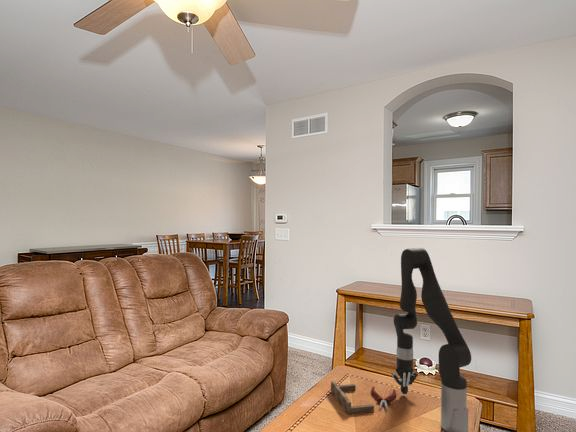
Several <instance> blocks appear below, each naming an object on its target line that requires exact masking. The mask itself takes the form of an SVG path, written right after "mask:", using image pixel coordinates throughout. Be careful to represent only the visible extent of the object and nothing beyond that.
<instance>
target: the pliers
mask: <svg viewBox="0 0 576 432" xmlns="http://www.w3.org/2000/svg"><path fill="white" fill-rule="evenodd" d="M370 391H371V392H370V393H371V395H372V396H373V397H374V398H375V399H376V403H377V404H379V411H381V410H382V409H383V406H384V408H385V411H386V412H388V405H389V406H390V405H391V402H392V401H393V400H395V399H396V397H397V391H396V389H395V388H393V389H392V393H390V394H389V395H388V396H386V397H385V398H383V397H382V396H381V395H380V394H378V393H377V392H376V391H375V386H372V387H371V390H370Z"/></svg>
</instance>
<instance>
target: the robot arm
mask: <svg viewBox="0 0 576 432" xmlns="http://www.w3.org/2000/svg"><path fill="white" fill-rule="evenodd" d="M400 256H401V257H400V274H401V275H400V276H401V290H400V297H399V298H400V299H399V309H401V311H403V312H406V313H397V314H395V315H394V317H393V324H394V329H395V333H396V339H397V340H396V355H395V357H396V368H395V372H394V373H393V372H392V373H391V374H390V375H391V377H392V378H393V380H394V381H395V382H396V383H397V384H398V385H399V386H400V393H401V394H402V395H408V392H409V386H411V385H413V383H414V382H415V380H416V379H417V378H418V373H417V372H415V371H414V348H413V347H414V346H413V345H414V338H413V337H414V336H413V335H412V334H411V333H407V332H404V330H414V329H415V328H416V327H417V326H418V318H417V311H416V309H417V308H416V305H417V299H418V293H417V288H416V286H415V284H414V281H413V272H414V270H416V269H418V271H419V272H420V275H421V277H422V286H421V288H422V289H421V297H420V298H421V302H422V305H423V307H424V310H425V312H426V315H427V316H428V317H429V318H430V320H431V321H432V322H433V323H434V324H435V325H436V326H437V327H438V328H439V330H441V331H442V333H443V335H444V337H445V339H446V342H447V344H442V345H441V346H440V348H439V350H438V372H439V377H440V380H441V381H440V382H441V384H440V427H441V429H443V431H445V432H469V408H467V407H468V406H467V405H468V403H467V399H468V392H467V391H468V390H467V389H468V381H467V379H466V377H464V376H463V375H461V371H460V368H463V367H467V366H469V365H470V364H471V362H472V353H471V351H470V348H469V346H468V344H467V342H466V340H465V338H464V337H463V334H462V333H461V331H460V329H459V328H458V325H457V323H456V321H455V319H454V316H453V314H452V312H451V310H450V307H449V305H448V302H447V300H446V297H445V294H444V293H443V291H442V288H441V287H440V286H441V285H440V284H439V281H438V279H437V276H436V274H435V271H434V266H433V264H432V260H431V258H430V255H429V252H428V251H427V250H426V249H425V248H423V247H413V248H412V247H411V248H405V249H404V250H402V253H401V255H400Z"/></svg>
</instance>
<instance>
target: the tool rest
mask: <svg viewBox="0 0 576 432" xmlns="http://www.w3.org/2000/svg"><path fill="white" fill-rule="evenodd" d="M356 389H357V388H356V384H355V383H350V384H340V385H338V383H336V381H335V380H330V392H331V394H332V395H333V397H334V398H335V399H336V401H337V403H339V404H340V407H341V408H343V410H344V412H345V413H346V414H347V415H357V414H364V413H365V414H366V413H373V412H375V405H374V404H372V403H370V404H360V405H353V406H352V402H351V400H350V399H349V398H348V397H347V395H346V394H345V392H355V391H356Z"/></svg>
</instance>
